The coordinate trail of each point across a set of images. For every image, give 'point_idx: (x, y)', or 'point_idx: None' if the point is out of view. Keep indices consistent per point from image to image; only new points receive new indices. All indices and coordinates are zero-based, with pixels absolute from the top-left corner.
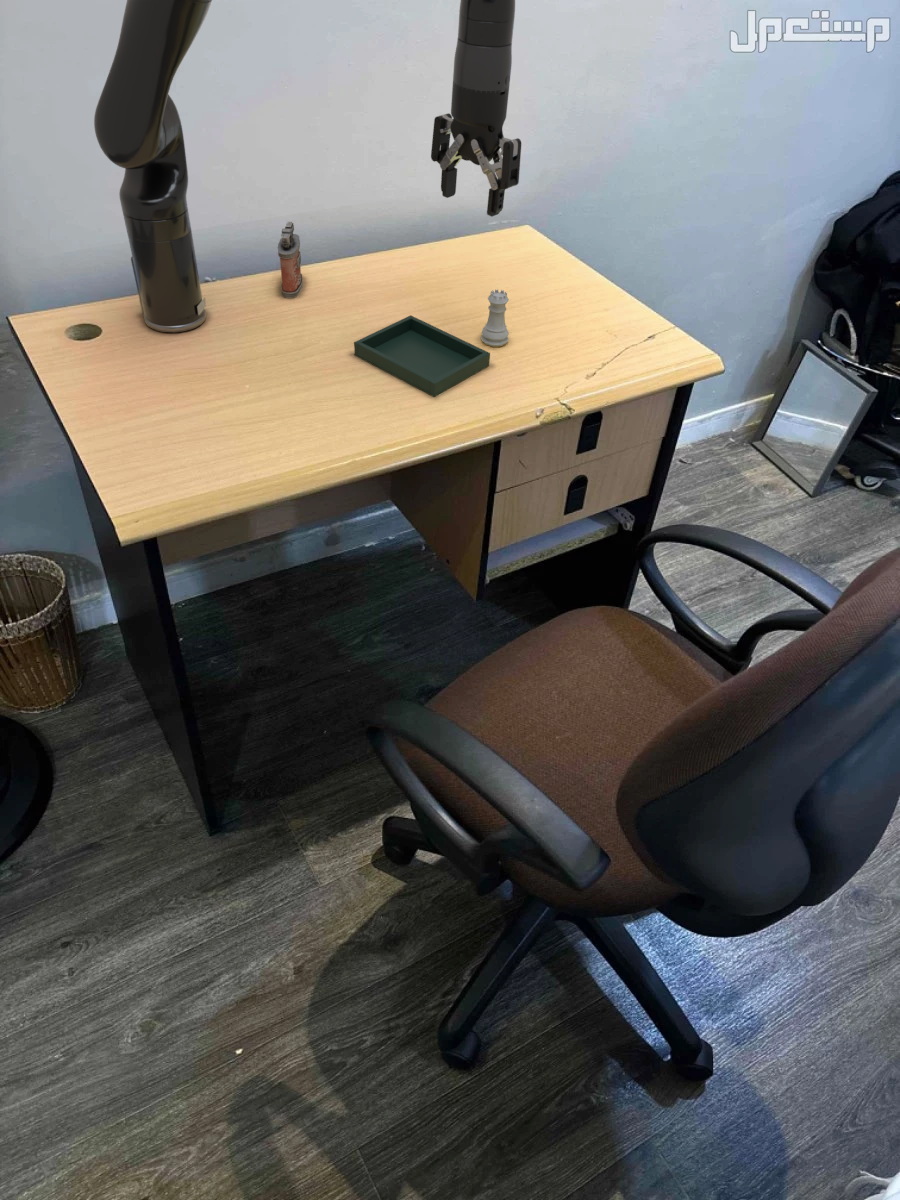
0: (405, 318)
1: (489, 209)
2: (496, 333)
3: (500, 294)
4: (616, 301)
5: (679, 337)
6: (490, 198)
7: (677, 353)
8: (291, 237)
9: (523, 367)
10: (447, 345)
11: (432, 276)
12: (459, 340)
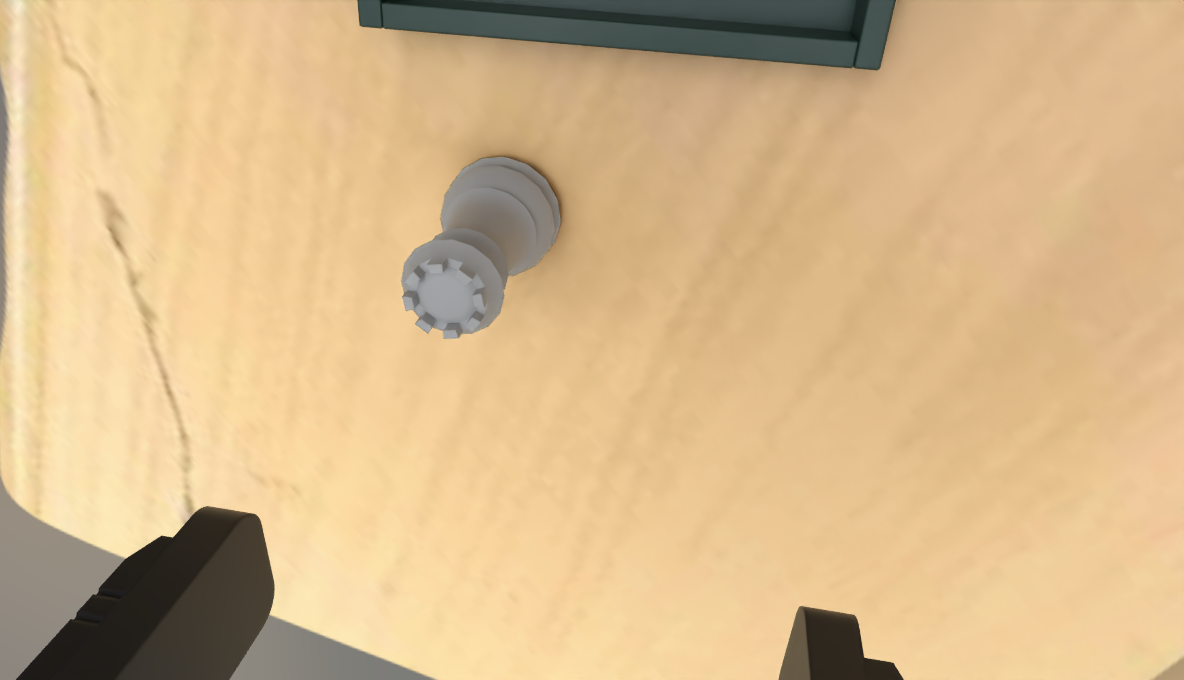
0: (882, 18)
1: (188, 544)
2: (459, 194)
3: (444, 308)
4: (403, 640)
5: None
6: (110, 634)
7: (85, 490)
8: None
9: (291, 109)
10: (607, 13)
11: (1023, 486)
12: (533, 24)
